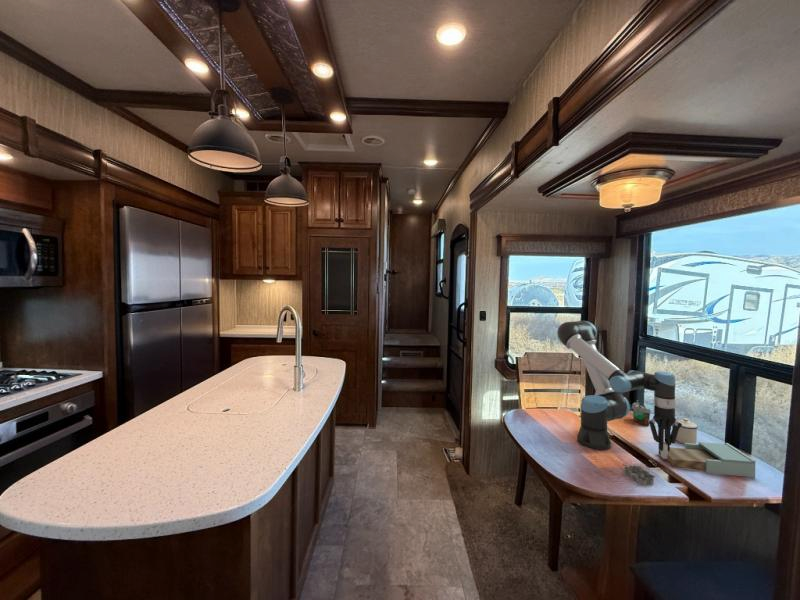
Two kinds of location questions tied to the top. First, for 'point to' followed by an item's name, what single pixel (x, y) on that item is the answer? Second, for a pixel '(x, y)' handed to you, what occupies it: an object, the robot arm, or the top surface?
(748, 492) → the top surface
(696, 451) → the panel
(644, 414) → the food container
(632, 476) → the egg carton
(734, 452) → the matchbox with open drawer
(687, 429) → the teacup with lid
